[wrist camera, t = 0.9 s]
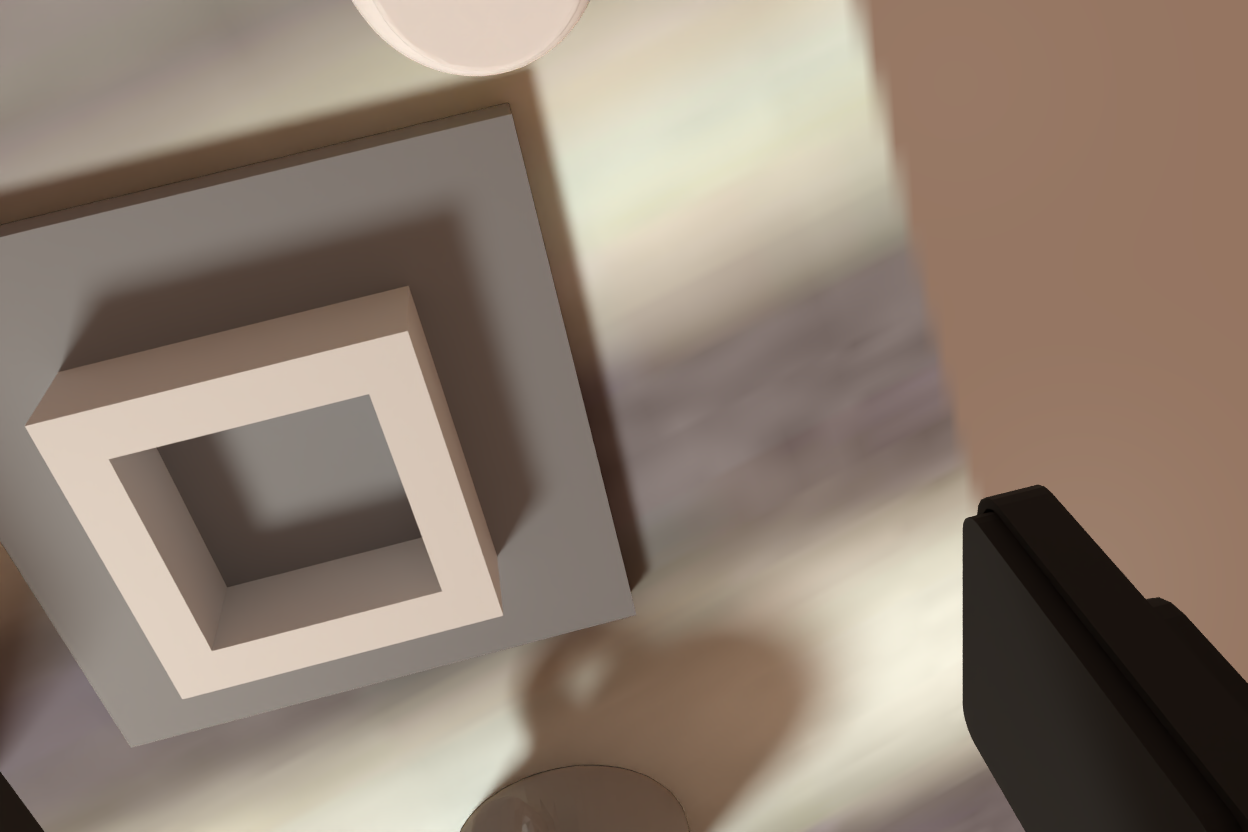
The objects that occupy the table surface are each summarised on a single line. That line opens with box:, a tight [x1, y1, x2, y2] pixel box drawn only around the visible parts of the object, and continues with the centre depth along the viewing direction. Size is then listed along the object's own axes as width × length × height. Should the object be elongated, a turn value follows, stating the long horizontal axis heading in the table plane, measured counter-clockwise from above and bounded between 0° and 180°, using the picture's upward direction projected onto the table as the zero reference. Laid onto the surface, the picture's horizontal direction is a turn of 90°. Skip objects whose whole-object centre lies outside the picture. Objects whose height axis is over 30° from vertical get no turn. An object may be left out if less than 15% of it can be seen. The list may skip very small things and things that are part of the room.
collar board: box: [0, 103, 636, 748], centre depth 32 cm, size 18×18×4 cm
